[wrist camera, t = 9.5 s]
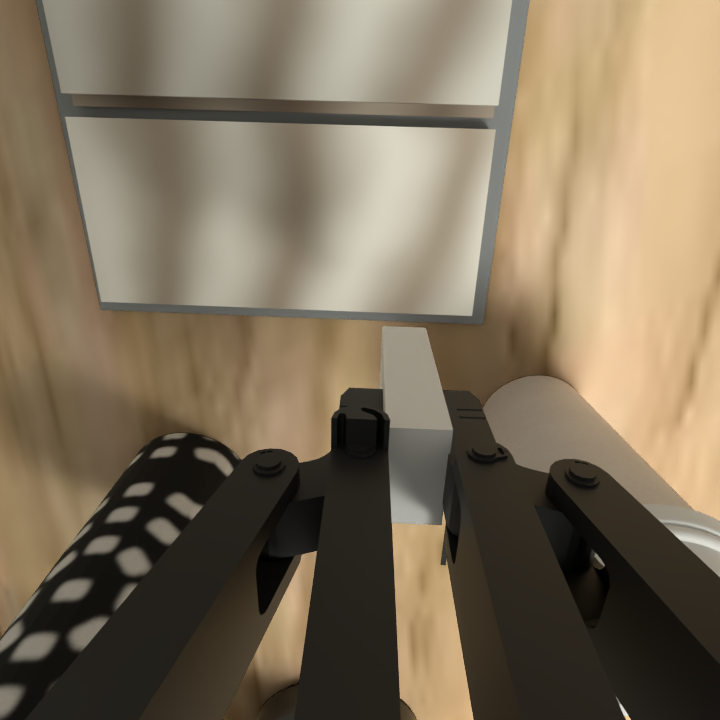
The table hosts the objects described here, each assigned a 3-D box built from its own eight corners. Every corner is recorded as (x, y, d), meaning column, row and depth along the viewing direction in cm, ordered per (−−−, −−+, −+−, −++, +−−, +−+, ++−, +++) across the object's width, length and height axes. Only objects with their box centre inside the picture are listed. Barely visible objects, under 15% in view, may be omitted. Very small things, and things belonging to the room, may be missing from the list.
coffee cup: (440, 372, 30) (490, 577, 16) (604, 334, 28) (809, 526, 15) (469, 493, 34) (528, 741, 20) (614, 466, 32) (784, 712, 19)
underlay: (103, 308, 29) (100, 309, 29) (0, -189, 20) (-5, -193, 20) (482, 322, 28) (482, 324, 28) (553, -180, 19) (556, -185, 19)
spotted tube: (237, 427, 32) (52, 817, 14) (263, 524, 36) (142, 936, 17) (116, 437, 33) (-210, 821, 15) (153, 532, 36) (-73, 935, 18)
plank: (112, 295, 28) (101, 301, 27) (79, 117, 24) (64, 116, 23) (468, 308, 27) (471, 316, 26) (490, 130, 24) (495, 129, 23)
